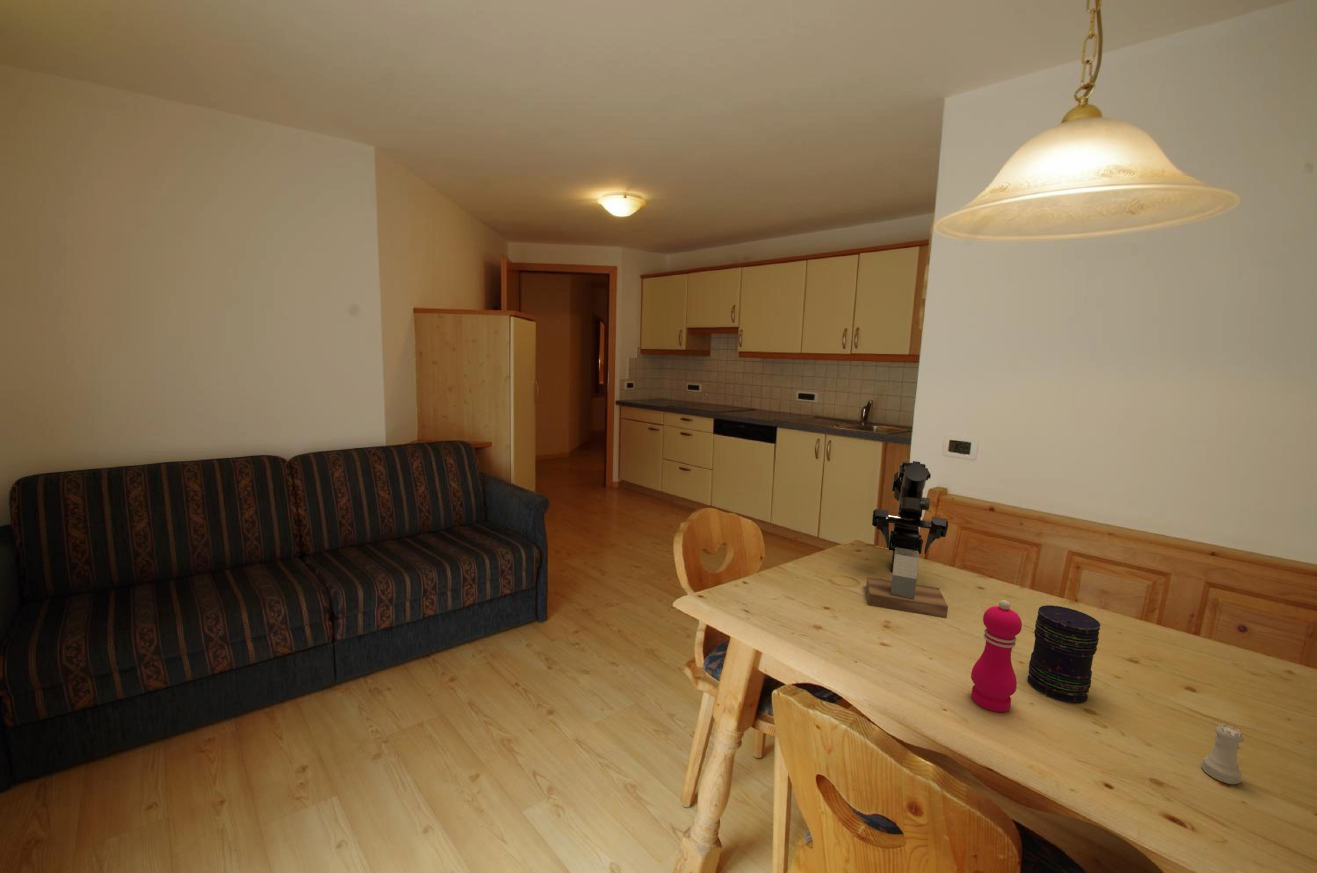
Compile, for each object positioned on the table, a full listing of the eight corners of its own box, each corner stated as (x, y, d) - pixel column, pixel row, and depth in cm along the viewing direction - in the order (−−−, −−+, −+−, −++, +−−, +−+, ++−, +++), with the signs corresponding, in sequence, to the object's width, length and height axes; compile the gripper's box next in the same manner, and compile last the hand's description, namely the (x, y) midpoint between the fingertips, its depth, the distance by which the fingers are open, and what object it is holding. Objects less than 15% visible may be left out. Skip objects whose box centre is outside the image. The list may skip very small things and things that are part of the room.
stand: (866, 587, 152) (867, 577, 152) (937, 598, 147) (938, 587, 147) (868, 605, 141) (870, 594, 140) (946, 618, 136) (948, 606, 135)
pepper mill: (960, 689, 106) (974, 590, 103) (998, 691, 106) (1013, 593, 103) (981, 713, 99) (996, 608, 96) (1022, 715, 99) (1038, 610, 96)
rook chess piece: (1209, 780, 85) (1220, 733, 84) (1194, 761, 89) (1203, 716, 88) (1247, 789, 83) (1258, 742, 82) (1229, 769, 88) (1240, 724, 86)
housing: (890, 587, 146) (895, 547, 144) (913, 591, 143) (918, 551, 142) (890, 595, 140) (895, 553, 139) (914, 599, 138) (919, 558, 137)
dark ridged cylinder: (1027, 668, 115) (1038, 600, 112) (1086, 686, 109) (1099, 615, 107) (1025, 690, 107) (1037, 618, 104) (1089, 711, 101) (1103, 635, 99)
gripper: (876, 480, 153) (870, 529, 145) (952, 490, 146) (949, 542, 137) (875, 501, 162) (868, 548, 153) (946, 511, 154) (943, 562, 146)
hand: (906, 550), depth 147 cm, fingers open, 9 cm apart
